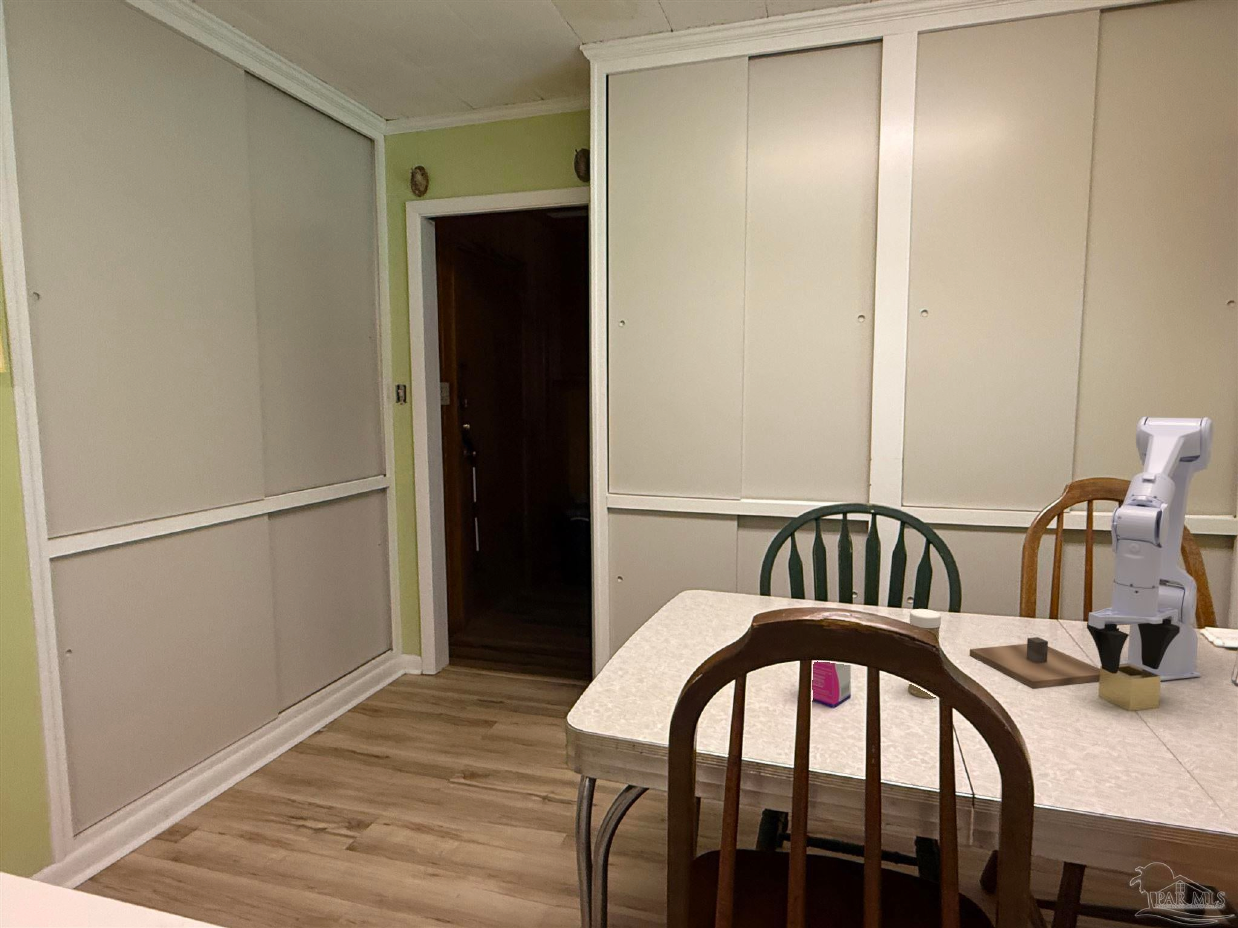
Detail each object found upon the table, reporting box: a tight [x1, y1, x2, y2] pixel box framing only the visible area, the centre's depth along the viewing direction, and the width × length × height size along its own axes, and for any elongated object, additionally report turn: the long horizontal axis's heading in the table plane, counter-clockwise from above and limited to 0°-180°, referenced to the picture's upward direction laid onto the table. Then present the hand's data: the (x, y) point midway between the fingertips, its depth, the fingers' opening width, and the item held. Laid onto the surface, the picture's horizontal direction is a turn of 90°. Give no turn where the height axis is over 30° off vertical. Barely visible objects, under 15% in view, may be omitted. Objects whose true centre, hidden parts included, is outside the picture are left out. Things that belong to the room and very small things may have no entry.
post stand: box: [969, 636, 1100, 689], centre depth 123 cm, size 15×15×5 cm
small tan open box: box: [1098, 663, 1161, 712], centre depth 109 cm, size 5×5×5 cm
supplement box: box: [812, 661, 852, 709], centre depth 111 cm, size 6×6×12 cm
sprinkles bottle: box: [907, 608, 942, 699], centre depth 113 cm, size 5×5×13 cm
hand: (1130, 668), depth 109 cm, fingers open, 7 cm apart
